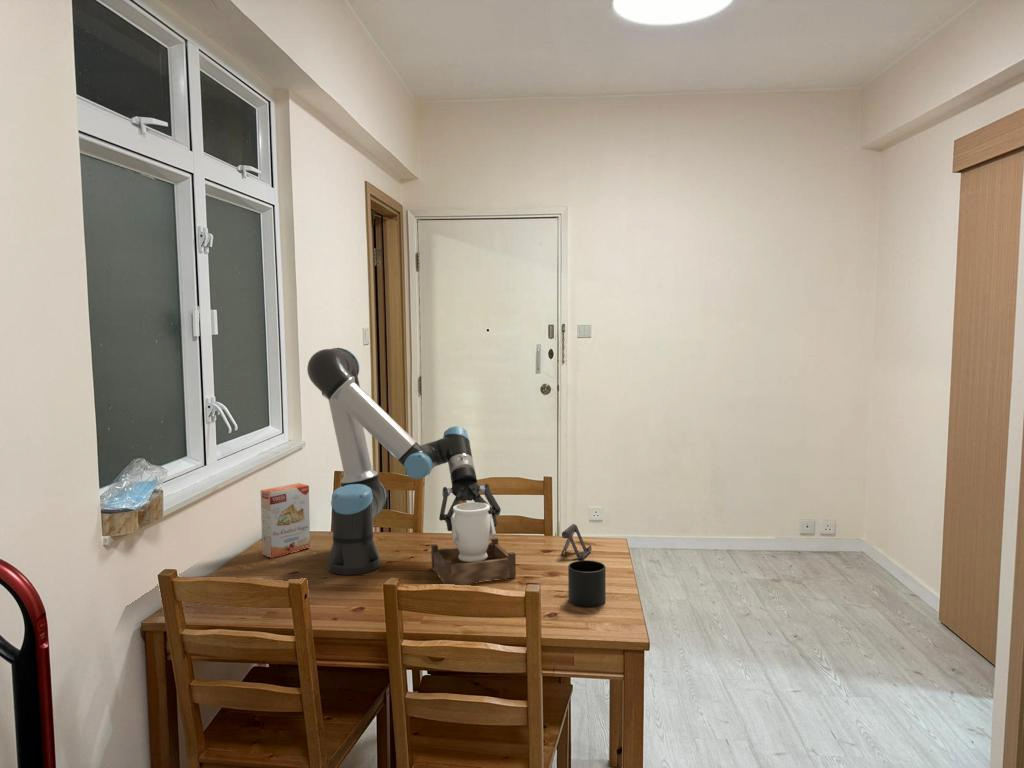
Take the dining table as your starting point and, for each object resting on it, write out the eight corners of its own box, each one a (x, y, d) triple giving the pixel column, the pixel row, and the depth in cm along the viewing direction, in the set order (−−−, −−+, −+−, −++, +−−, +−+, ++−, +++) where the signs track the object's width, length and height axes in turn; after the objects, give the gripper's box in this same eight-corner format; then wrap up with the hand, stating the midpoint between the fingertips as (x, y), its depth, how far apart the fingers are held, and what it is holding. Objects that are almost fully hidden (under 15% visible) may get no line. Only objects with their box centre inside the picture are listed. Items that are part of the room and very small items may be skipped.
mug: (607, 591, 192) (607, 557, 191) (604, 608, 180) (604, 573, 179) (571, 589, 194) (571, 556, 193) (566, 606, 182) (566, 571, 181)
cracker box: (272, 560, 222) (269, 492, 220) (261, 556, 226) (259, 489, 224) (311, 548, 232) (309, 484, 231) (301, 545, 236) (298, 482, 235)
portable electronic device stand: (582, 560, 217) (582, 533, 217) (558, 557, 220) (557, 530, 220) (591, 552, 225) (591, 525, 225) (567, 549, 228) (567, 523, 228)
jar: (477, 566, 200) (475, 512, 199) (447, 560, 205) (445, 508, 204) (498, 555, 209) (497, 504, 207) (469, 550, 214) (467, 500, 213)
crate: (446, 587, 196) (445, 562, 196) (431, 568, 212) (431, 545, 211) (515, 578, 203) (515, 553, 202) (496, 560, 219) (496, 537, 218)
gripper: (425, 468, 212) (435, 535, 198) (501, 462, 218) (516, 527, 204) (423, 482, 217) (432, 548, 204) (497, 476, 223) (512, 540, 209)
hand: (474, 538), depth 204 cm, fingers closed on jar, 10 cm apart
